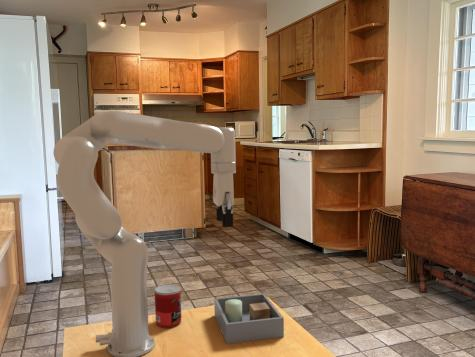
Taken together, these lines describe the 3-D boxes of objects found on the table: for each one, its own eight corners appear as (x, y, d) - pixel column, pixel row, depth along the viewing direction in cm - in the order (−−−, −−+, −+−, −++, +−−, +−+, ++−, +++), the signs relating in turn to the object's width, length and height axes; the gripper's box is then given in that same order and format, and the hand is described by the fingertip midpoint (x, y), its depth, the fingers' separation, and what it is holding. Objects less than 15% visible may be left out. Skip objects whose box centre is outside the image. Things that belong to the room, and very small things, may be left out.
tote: (226, 343, 121) (226, 324, 120) (214, 315, 140) (214, 298, 139) (283, 336, 124) (283, 317, 124) (264, 309, 143) (264, 293, 143)
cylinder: (227, 329, 128) (226, 306, 127) (224, 322, 133) (223, 300, 132) (244, 327, 129) (243, 304, 128) (240, 320, 134) (240, 298, 133)
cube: (254, 326, 130) (253, 310, 129) (249, 319, 135) (249, 304, 134) (270, 324, 131) (270, 308, 130) (265, 317, 136) (265, 302, 135)
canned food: (176, 329, 130) (175, 293, 129) (151, 327, 132) (150, 292, 131) (185, 318, 138) (184, 284, 136) (161, 316, 139) (159, 283, 138)
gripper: (206, 166, 140) (208, 218, 142) (216, 170, 123) (217, 230, 125) (229, 165, 142) (230, 217, 144) (242, 170, 125) (242, 228, 127)
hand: (224, 223), depth 134 cm, fingers open, 9 cm apart
